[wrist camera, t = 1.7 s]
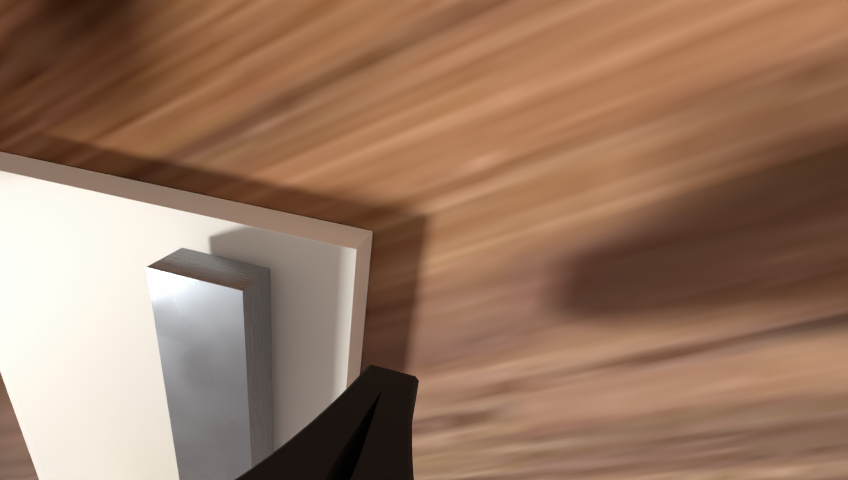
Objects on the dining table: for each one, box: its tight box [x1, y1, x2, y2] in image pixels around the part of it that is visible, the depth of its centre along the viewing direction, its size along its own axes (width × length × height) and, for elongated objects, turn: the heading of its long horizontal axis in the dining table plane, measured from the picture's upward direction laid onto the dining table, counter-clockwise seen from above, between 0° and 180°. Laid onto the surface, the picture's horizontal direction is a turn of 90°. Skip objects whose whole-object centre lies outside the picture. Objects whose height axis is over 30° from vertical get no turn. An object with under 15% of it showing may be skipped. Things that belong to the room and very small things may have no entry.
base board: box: [0, 152, 373, 480], centre depth 18 cm, size 18×16×2 cm
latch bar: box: [146, 248, 274, 480], centre depth 15 cm, size 12×3×2 cm, turn 173°
